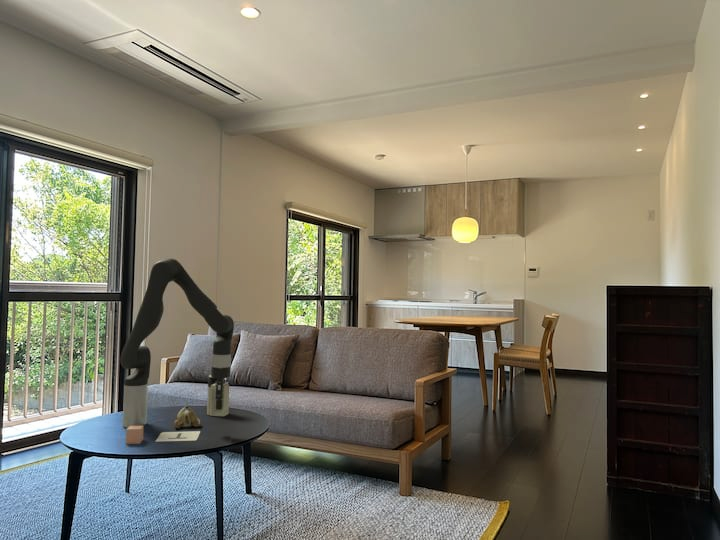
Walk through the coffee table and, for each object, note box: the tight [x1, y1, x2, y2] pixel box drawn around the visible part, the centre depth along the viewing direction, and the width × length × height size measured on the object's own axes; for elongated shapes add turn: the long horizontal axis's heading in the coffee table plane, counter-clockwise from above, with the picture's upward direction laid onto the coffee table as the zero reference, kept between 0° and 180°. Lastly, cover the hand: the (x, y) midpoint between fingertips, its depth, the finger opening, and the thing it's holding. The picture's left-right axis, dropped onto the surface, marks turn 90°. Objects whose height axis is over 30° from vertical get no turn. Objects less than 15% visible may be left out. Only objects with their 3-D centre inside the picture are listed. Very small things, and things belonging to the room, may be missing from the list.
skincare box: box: [209, 383, 230, 417], centre depth 211 cm, size 6×4×12 cm
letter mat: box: [154, 430, 201, 443], centre depth 207 cm, size 13×15×1 cm
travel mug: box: [206, 374, 217, 417], centre depth 246 cm, size 8×8×18 cm
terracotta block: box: [125, 425, 144, 445], centre depth 198 cm, size 5×5×6 cm
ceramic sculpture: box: [173, 405, 201, 429], centre depth 223 cm, size 11×9×15 cm
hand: (219, 407), depth 211 cm, fingers closed on skincare box, 5 cm apart
